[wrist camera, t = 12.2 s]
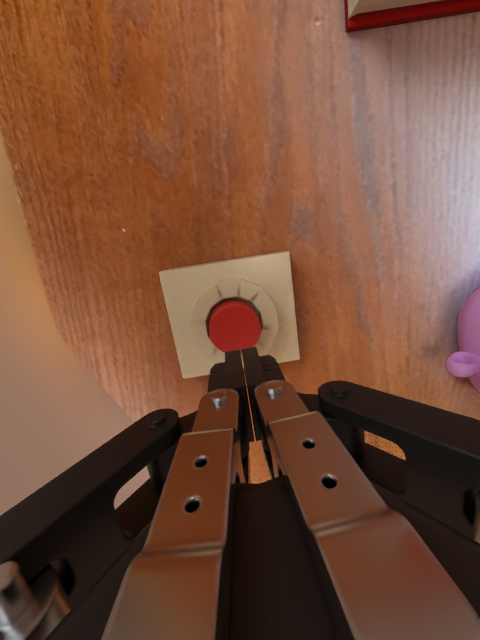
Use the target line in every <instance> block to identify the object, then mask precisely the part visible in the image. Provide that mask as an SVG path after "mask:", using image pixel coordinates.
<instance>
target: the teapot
mask: <svg viewBox="0 0 480 640" xmlns="http://www.w3.org/2000/svg"><path fill="white" fill-rule="evenodd" d="M457 334H458V344H459V350H460V352H455V353H453V354H451V355H450V356H449V357H448V358H447V360H446V362H445V367H446V369H447V371H448V372H449V373H450V374H451V375H453V376H455V377H469V378H470V381H471V382H472V384H473V386H474V387H475V388H476V390H477V391H478V392H479V393H480V286H479V287H478V288H477V289H476V290H475V291H473V292H472V293H471V294H470V296H469V297H468V298H467V299H466V300H465V302H464V303H463V305H462V307H461V309H460V311H459V316H458V322H457Z"/></svg>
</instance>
